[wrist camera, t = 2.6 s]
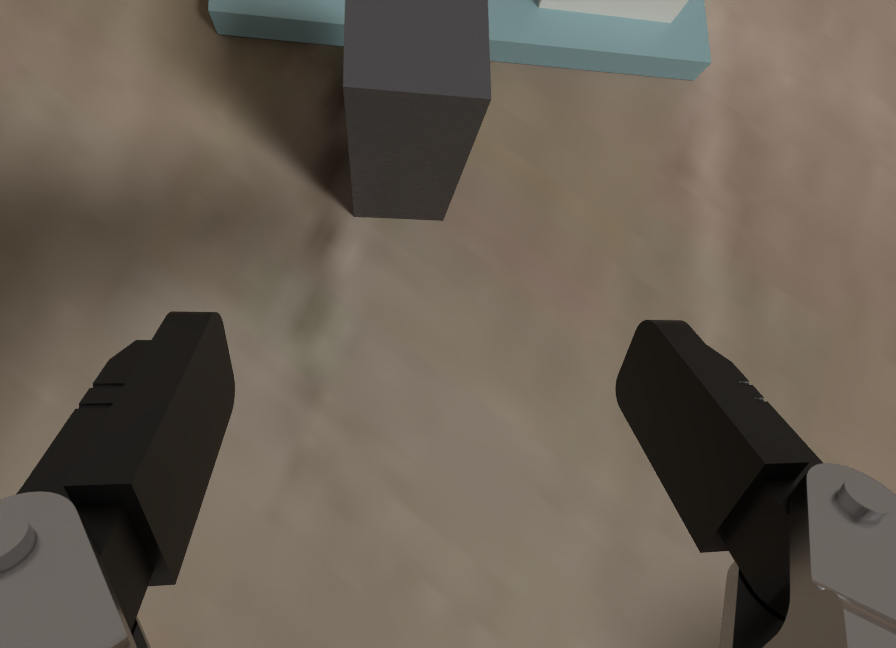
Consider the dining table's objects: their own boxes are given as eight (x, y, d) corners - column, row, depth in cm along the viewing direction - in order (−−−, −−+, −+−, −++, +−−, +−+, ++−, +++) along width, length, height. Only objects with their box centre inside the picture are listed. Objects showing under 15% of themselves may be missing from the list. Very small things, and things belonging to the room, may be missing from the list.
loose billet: (354, 216, 24) (342, 86, 14) (355, 129, 25) (345, -53, 15) (443, 220, 25) (491, 99, 15) (441, 135, 25) (486, -35, 16)
